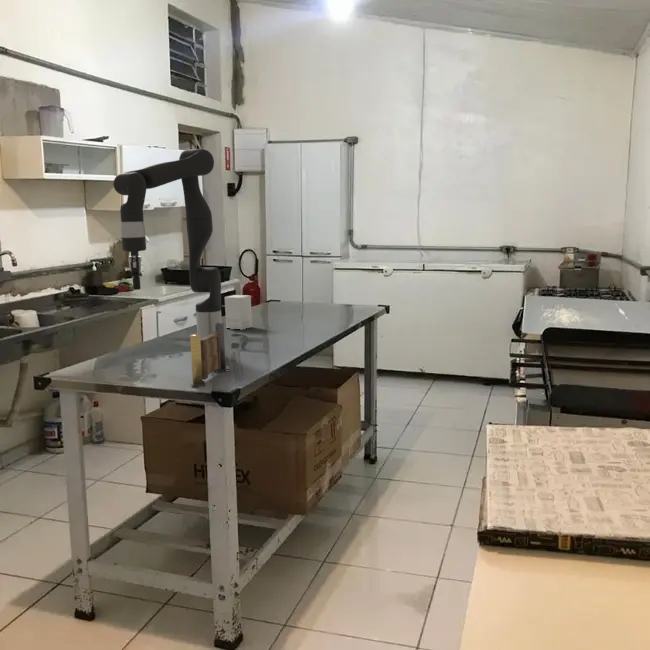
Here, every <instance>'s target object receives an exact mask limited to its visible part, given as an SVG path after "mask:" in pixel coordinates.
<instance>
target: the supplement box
mask: <svg viewBox="0 0 650 650" xmlns="http://www.w3.org/2000/svg"><path fill="white" fill-rule="evenodd" d="M224 310H225V327H226V328H230V329H229V330H234V329H240V330H239V331H243V330H247V329H250V328H253V316H252V295H248V294H247V295H246V294H245V295H243V294H232V295H227V296H224ZM226 328H225V329H226ZM246 328H247V329H246Z"/></svg>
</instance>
